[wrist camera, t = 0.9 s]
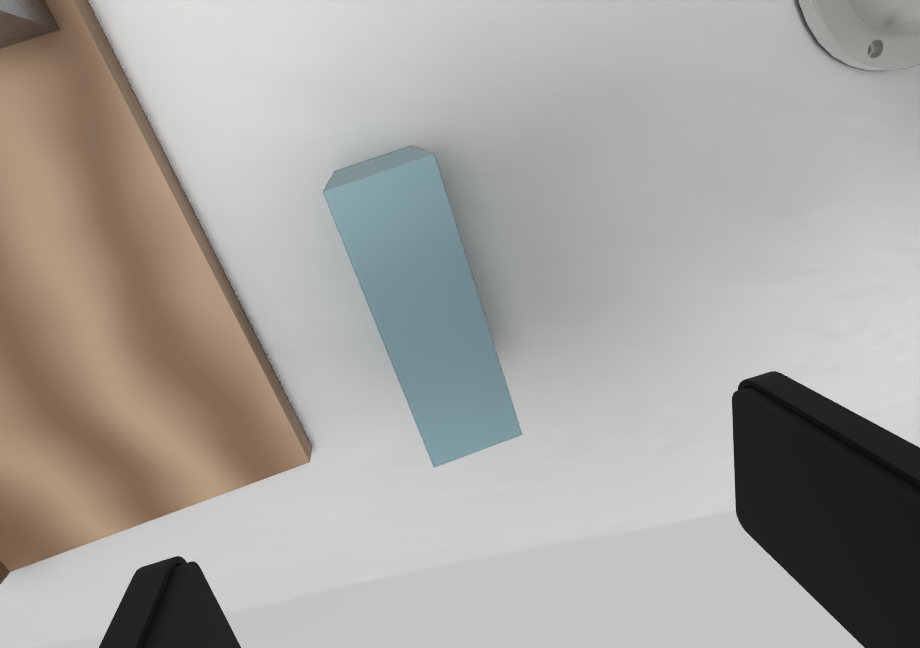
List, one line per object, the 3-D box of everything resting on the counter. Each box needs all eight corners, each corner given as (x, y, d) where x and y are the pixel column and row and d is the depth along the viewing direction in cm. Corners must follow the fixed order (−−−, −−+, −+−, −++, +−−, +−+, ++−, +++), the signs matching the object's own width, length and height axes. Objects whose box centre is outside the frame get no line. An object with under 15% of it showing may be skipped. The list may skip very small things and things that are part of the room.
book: (411, 145, 27) (434, 154, 19) (479, 352, 31) (522, 434, 23) (334, 171, 27) (322, 191, 18) (414, 376, 31) (433, 467, 23)
